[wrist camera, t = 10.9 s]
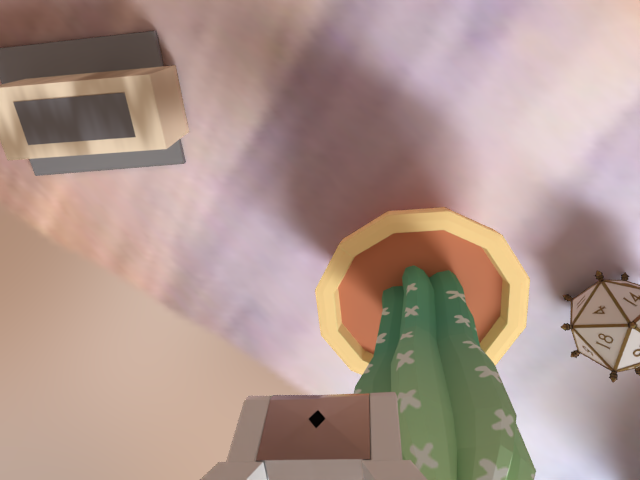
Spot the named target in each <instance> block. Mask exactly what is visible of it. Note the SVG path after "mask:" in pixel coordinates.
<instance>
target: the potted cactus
mask: <svg viewBox="0 0 640 480" xmlns="http://www.w3.org/2000/svg"><path fill="white" fill-rule="evenodd" d="M529 285H530V278H529V277H528V275H527V273H526V272H525V270H524V269H523V267H522V266H521V264H520V262H519V261H518V259H517V258H516V256H515V254H514V253H513V251H512V250H511V248H510V247H509V245H508V243H507V242H506V240H505V239H504V237H503V236H502V235H501V234H500V233H498V232H497V231H495V230H493V229H491V228H489V227H487V226H485V225H483V224H480V223H478V222H476V221H474V220H472V219H469V218H467V217H465V216H463V215H461V214H458V213H456V212H454V211H452V210H450V209H447V208H445V207H440V208H426V209H411V210H397V211H387V212H386V213H384V214H383V215H381V216H379V217H378V218H376V219H374V220H373V221H371V222H370V223H368V224H366V225H365V226H363V227H361V228H360V229H358V230H357V231H355V232H353V233H352V234H350V235H348V236H347V237H345V238H344V239H342V241H341V242H340V244H339V245H338V247H337V249H336V251H335V253H334V255H333V257H332V259H331V261H330V262H329V264H328V266H327V268H326V270H325V272H324V274H323V276H322V278H321V280H320V282H319V284H318V285H317V287H316V289H315V293H316V301H317V308H318V316H319V324H320V331H321V336H322V337H323V338H324V339H325V341H326V342H327V343H328V344H329V345H330V346H331V348H332V349H333V350H334V351H335V352H336V353H337V355H338V356H339V357H340V358H341V359H342V360H343V362H344V363H345V364H346V365H347V366H348V367H349V369H350V370H351V371H354V372H356V373H359V374H361V375H362V376H361V378H360V380H359V381H358V383H357V385H356V386H355V391H354V394H365V393H382V392H395V393H396V395H397V403H398V415H399V426H400V438H401V449H402V460H411V461H412V462H413V464H414V465H415V466H416V467H417V468H418V469H419V470H420V472H421V473H422V474H423V475H424V476H425V477H426V478H427V480H534V477H535V472H536V470H535V468H534V465H533V463H532V460H531V458H530V456H529V453H528V451H527V449H526V446H525V444H524V441H523V439H522V437H521V434H520V432H519V429H518V427H517V425H516V413H515V411H514V409H513V406H512V404H511V402H510V399H509V397H508V395H507V392H506V390H505V388H504V385H503V383H502V381H501V379H500V376H499V374H498V372H497V369H496V367H495V365H496V364H497V363H498V362H499V360H500V359H501V358H502V357H503V355H504V354H505V353H506V352H507V350H508V349H509V348H510V346H511V345H512V344H513V343H514V341H515V340H516V339H517V338H518V336H519V335H520V334H521V332H522V331H523V330H524V329H525V327H526V320H527V308H528V296H529Z"/></svg>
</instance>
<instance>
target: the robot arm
mask: <svg viewBox="0 0 640 480" xmlns="http://www.w3.org/2000/svg"><path fill="white" fill-rule="evenodd" d="M200 480H427V478H426V477H425V476H424V475H423V474H422V473H421V472H420V470H419V469H418V468H417V467H416V466H415V465H414V464H413V462H412V461H411V460H402V449H401V438H400V426H399V415H398V403H397V395H396V393H395V392H382V393H365V394H337V395H273V396H248V397H247V398H246V400H245V401H244V403H243V407H242V410H241V414H240V417H239V420H238V424H237V427H236V430H235V434H234V437H233V441H232V444H231V447H230V450H229V454H228V457H227V461H226V462H218V463H217V464H216V465H215V466H214V467H213V468H212V469H211V470H210V471H209V472H208V473H207V474H206V475H204V476H203V477H202V478H201V479H200Z"/></svg>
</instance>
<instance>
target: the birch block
mask: <svg viewBox="0 0 640 480" xmlns="http://www.w3.org/2000/svg"><path fill="white" fill-rule="evenodd" d="M188 132H189V129H188V124H187V119H186V114H185V109H184V104H183V99H182V95H181V90H180V85H179V80H178V75H177V70H176V65H173V66H162V67H151V68H140V69H129V70H118V71H107V72H96V73H85V74H73V75H62V76H51V77H40V78H29V79H23V80H19V81H14V82H10V83H6V84H2V85H0V141H1V144H2V147H3V149H4V152H5V155H6V157H7V160H21V159H35V158H49V157H63V156H77V155H91V154H105V153H119V152H133V151H147V150H161V149H167V148H169V147H170V146H171V145H173V144H174V143H175V142H177V141H178V140H179V139H181V138H182V137H183V136H184V135H186V134H187V133H188Z"/></svg>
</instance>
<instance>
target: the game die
mask: <svg viewBox="0 0 640 480" xmlns="http://www.w3.org/2000/svg"><path fill="white" fill-rule="evenodd" d="M595 276H596V279H598V280H599V281H598V282H596V283H595V284H594V285H592V286H591V287H589V288H588V289H586V290H585V291H583V292H582V293H581V294H579V295H578V296H576V297H575V298H572V297H571V296H569V295H563V297H564V299H565V300H567V301H570V302H571V321H570V324H568V323H567V324H565V323H564V325H563V326H561V328H563V329H564V330H565V331H566V330H570V329H571V331H572V334H573V337H574V340H575V344H576V347H577V350H575V351H574V352H571V357H576V358H577V356H579V354H580V353H581V354H583V355H584V356H586V357H588V358H590V359H591V360H593V361H595V362H597V363H598V364H600V365H602V366H604V367H605V368H607V369H609V370H611V374H610V377H609V378H610V379H611V380H612V382H615V381H616V380H617V377H618V376H617V374H616V373H617V372H621V371H625V370H630V369H635V372H636V374H638V375H640V285H638V284H635V283H632V282H628V281H627V280H628V277H629V276H628V275H627V274H626V273H624V274H622V275H621V280H605V279H603V275H602V273H601V272H599V271H597V272H596V275H595Z"/></svg>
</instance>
